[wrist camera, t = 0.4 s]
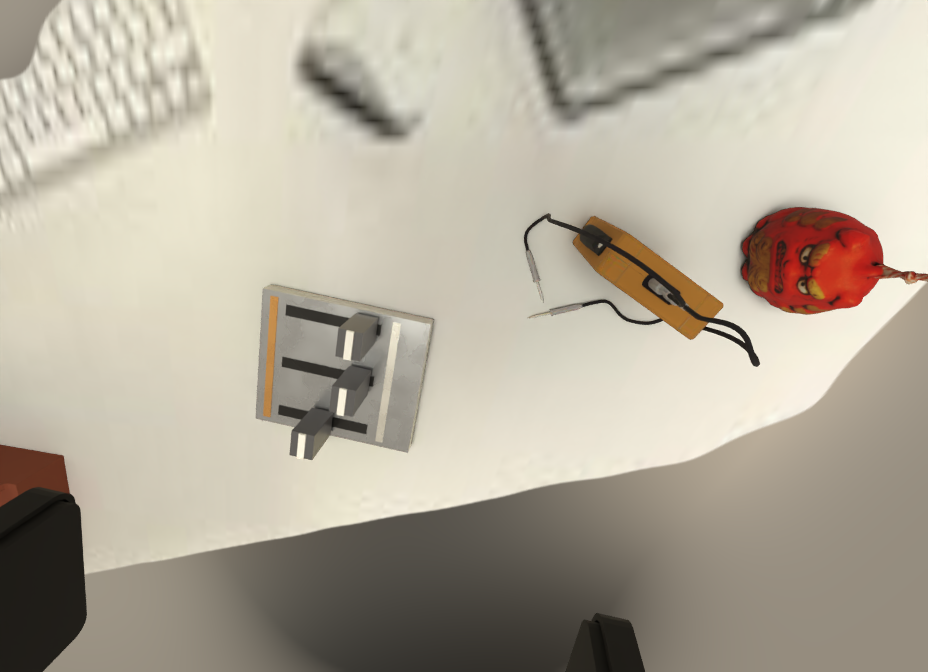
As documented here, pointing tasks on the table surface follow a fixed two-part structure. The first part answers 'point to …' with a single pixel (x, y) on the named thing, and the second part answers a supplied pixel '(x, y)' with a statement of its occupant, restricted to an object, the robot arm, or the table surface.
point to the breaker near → (356, 337)
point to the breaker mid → (349, 391)
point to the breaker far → (311, 433)
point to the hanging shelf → (29, 472)
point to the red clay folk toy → (815, 260)
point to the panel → (339, 365)
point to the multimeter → (644, 281)
